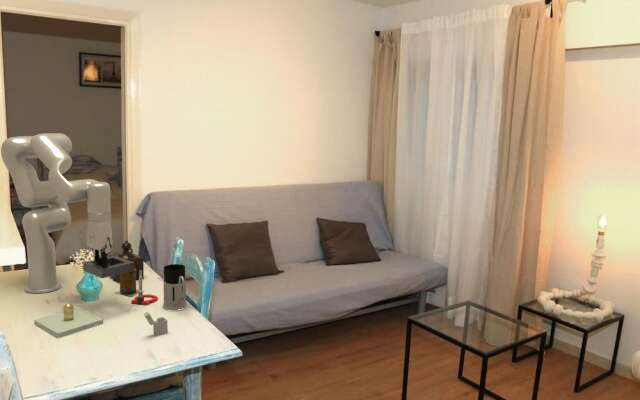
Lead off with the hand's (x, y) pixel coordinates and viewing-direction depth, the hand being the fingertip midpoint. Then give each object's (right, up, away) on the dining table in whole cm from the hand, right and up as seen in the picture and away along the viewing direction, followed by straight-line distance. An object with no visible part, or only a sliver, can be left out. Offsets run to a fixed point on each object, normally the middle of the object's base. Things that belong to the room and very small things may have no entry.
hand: (100, 266), depth 183 cm
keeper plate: (-4, -17, -14) cm, 23 cm away
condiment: (+4, -13, +16) cm, 21 cm away
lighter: (+26, -19, -20) cm, 38 cm away
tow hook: (+13, -14, +9) cm, 21 cm away
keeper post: (-4, -16, -15) cm, 22 cm away
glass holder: (+27, -16, +2) cm, 32 cm away
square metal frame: (+4, -1, -3) cm, 5 cm away
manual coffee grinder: (-1, -10, +30) cm, 32 cm away
